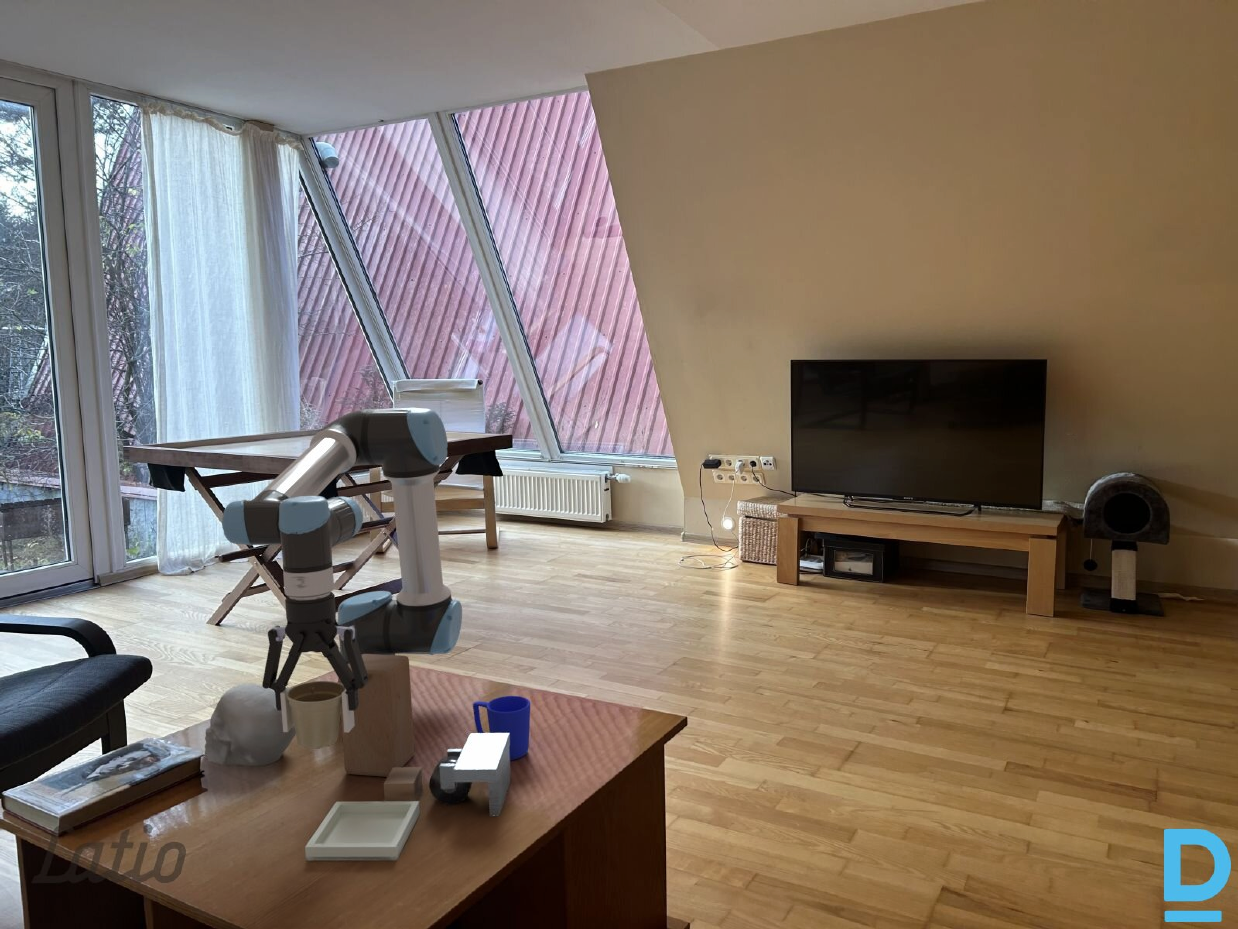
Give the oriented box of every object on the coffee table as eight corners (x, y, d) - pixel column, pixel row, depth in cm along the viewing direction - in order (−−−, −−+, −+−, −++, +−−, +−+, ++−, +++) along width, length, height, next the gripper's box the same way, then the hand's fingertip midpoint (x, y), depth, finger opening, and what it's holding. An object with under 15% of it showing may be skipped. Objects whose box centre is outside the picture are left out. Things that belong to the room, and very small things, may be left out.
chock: (394, 791, 164) (393, 767, 163) (422, 791, 164) (421, 767, 163) (385, 809, 158) (383, 784, 157) (414, 808, 158) (413, 783, 157)
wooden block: (393, 779, 168) (387, 673, 165) (342, 775, 170) (335, 670, 167) (416, 755, 178) (410, 654, 175) (368, 751, 180) (361, 651, 177)
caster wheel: (442, 779, 167) (439, 733, 166) (511, 779, 167) (509, 733, 166) (423, 819, 153) (420, 769, 152) (498, 819, 153) (496, 769, 152)
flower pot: (348, 751, 149) (348, 699, 148) (286, 757, 146) (284, 704, 145) (346, 728, 158) (346, 678, 156) (287, 733, 155) (286, 683, 154)
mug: (488, 738, 184) (486, 690, 183) (540, 749, 179) (538, 699, 177) (463, 755, 177) (460, 705, 176) (516, 767, 171) (514, 715, 170)
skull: (230, 737, 188) (231, 667, 185) (309, 756, 183) (311, 684, 181) (184, 766, 176) (184, 692, 173) (267, 787, 171) (269, 711, 168)
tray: (337, 814, 156) (336, 801, 156) (420, 813, 155) (419, 801, 155) (306, 860, 142) (305, 847, 142) (396, 860, 142) (395, 846, 141)
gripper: (231, 601, 145) (242, 738, 148) (369, 600, 144) (378, 738, 147) (253, 588, 153) (263, 719, 156) (385, 587, 151) (392, 719, 154)
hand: (319, 728), depth 151 cm, fingers closed on flower pot, 9 cm apart
